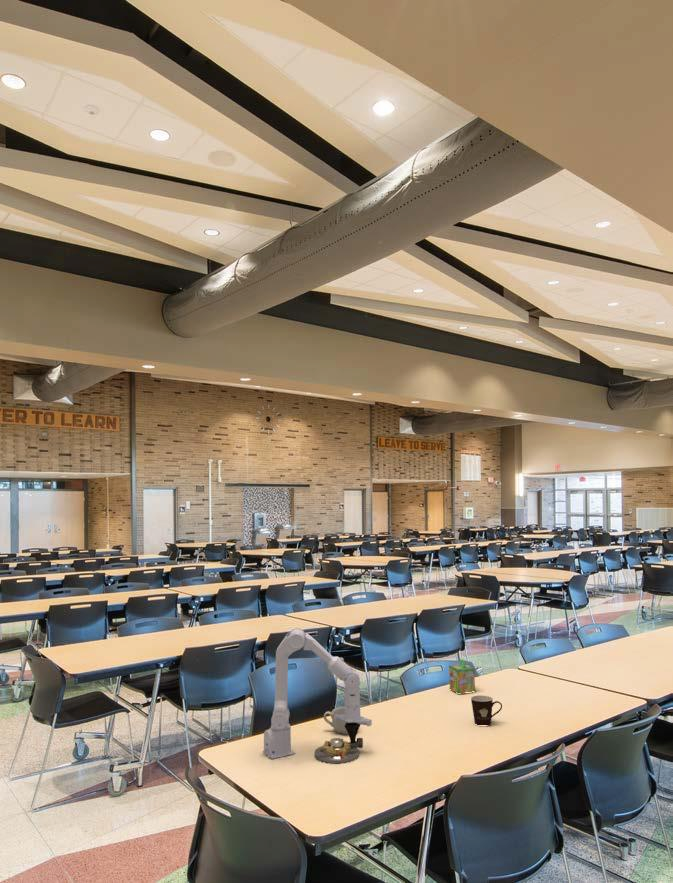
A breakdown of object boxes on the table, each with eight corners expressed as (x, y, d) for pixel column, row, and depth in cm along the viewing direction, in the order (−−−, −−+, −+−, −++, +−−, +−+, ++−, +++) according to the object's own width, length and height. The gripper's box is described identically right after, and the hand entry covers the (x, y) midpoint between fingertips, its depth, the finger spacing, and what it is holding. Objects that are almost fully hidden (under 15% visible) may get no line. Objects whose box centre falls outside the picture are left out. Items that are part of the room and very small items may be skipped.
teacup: (362, 728, 260) (361, 707, 261) (355, 737, 250) (355, 715, 251) (328, 725, 264) (328, 705, 265) (321, 734, 253) (320, 713, 254)
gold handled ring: (329, 757, 226) (328, 748, 226) (320, 749, 235) (320, 740, 235) (367, 751, 231) (367, 742, 232) (357, 743, 240) (357, 734, 240)
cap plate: (327, 767, 221) (327, 751, 222) (306, 752, 235) (306, 737, 235) (367, 757, 229) (367, 742, 229) (345, 744, 243) (344, 729, 243)
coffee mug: (469, 725, 260) (468, 700, 261) (475, 719, 267) (474, 694, 269) (498, 729, 255) (497, 703, 256) (503, 723, 262) (502, 697, 263)
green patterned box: (449, 690, 312) (448, 658, 313) (466, 688, 314) (465, 656, 316) (458, 695, 303) (457, 662, 304) (476, 693, 306) (474, 660, 307)
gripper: (329, 705, 238) (330, 744, 236) (365, 710, 231) (366, 750, 229) (339, 700, 244) (339, 738, 242) (373, 705, 237) (374, 744, 235)
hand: (353, 743), depth 236 cm, fingers closed, pressing on gold handled ring
